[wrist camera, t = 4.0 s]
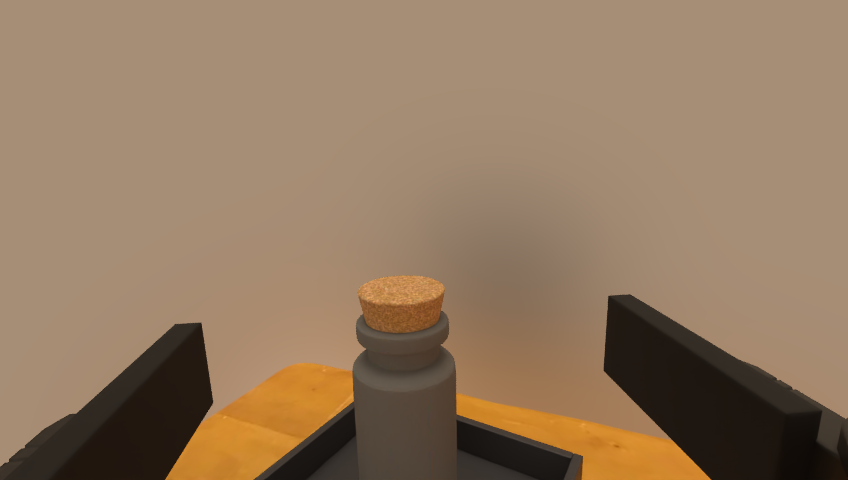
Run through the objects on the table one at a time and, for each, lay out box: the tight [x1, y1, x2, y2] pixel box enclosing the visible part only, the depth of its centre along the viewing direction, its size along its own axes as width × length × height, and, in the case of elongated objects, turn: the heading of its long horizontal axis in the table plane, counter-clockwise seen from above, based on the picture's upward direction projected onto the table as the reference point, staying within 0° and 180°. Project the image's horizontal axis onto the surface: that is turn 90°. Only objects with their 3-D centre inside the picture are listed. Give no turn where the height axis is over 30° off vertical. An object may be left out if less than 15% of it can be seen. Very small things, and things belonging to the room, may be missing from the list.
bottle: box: [353, 276, 457, 480], centre depth 26 cm, size 6×6×15 cm
